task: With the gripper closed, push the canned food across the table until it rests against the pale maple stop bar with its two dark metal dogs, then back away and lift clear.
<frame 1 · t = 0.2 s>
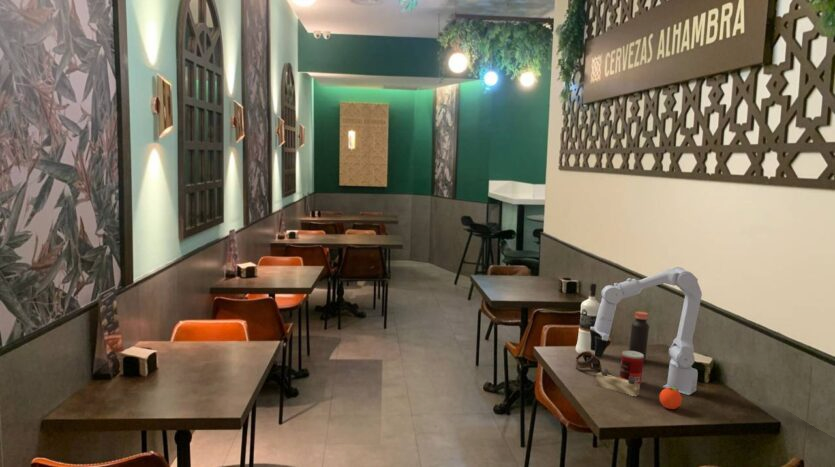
hand: (595, 353, 228), 11 cm above the table, tool pointing down, fingers open, 7 cm apart
bottle: (636, 360, 259), on the table
vodka: (586, 353, 264), on the table
maple stop bar: (616, 389, 222), on the table
canned food: (629, 383, 231), on the table
clementine: (670, 408, 208), on the table
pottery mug: (587, 369, 243), on the table
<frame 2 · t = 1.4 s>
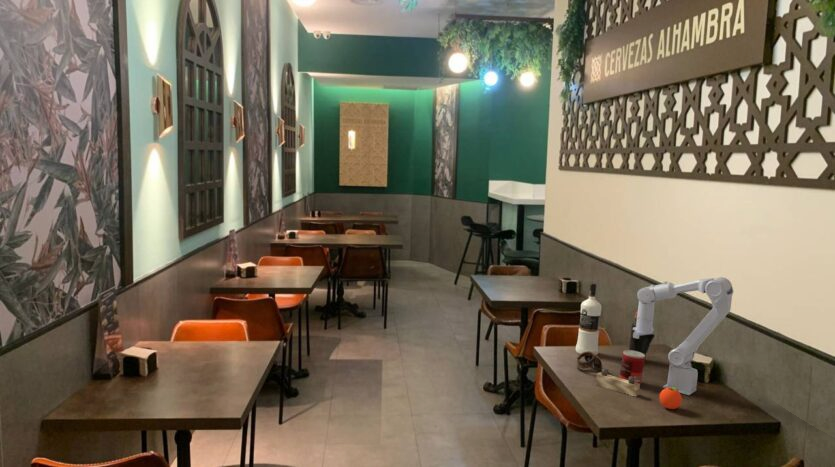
hand: (641, 353, 236), 9 cm above the table, tool pointing down, fingers open, 4 cm apart
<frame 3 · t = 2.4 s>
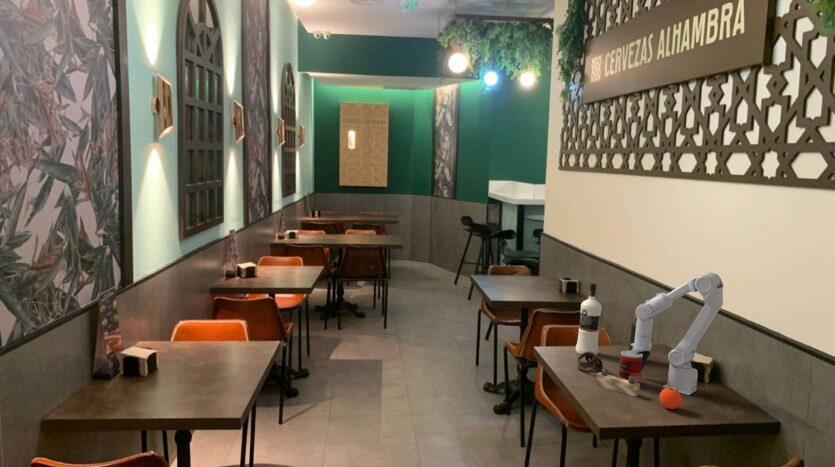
hand: (639, 369, 236), 3 cm above the table, tool pointing down, fingers closed
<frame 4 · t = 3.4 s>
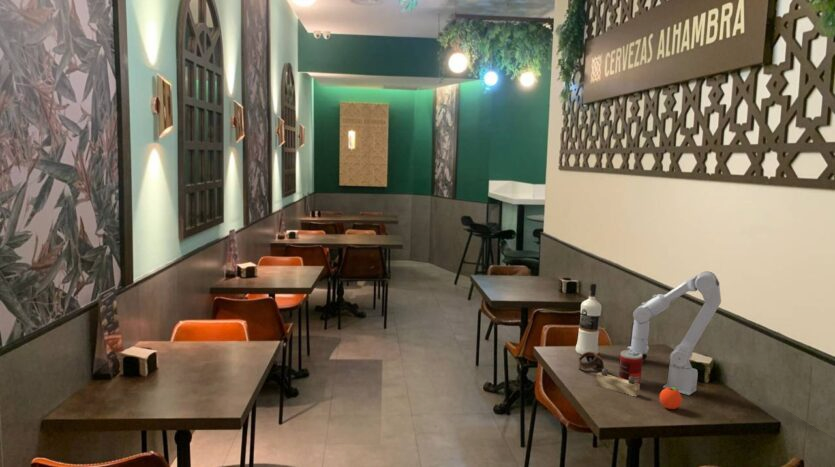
hand: (636, 372, 234), 2 cm above the table, tool pointing down, fingers closed
canned food: (629, 382, 231), on the table, touching gripper
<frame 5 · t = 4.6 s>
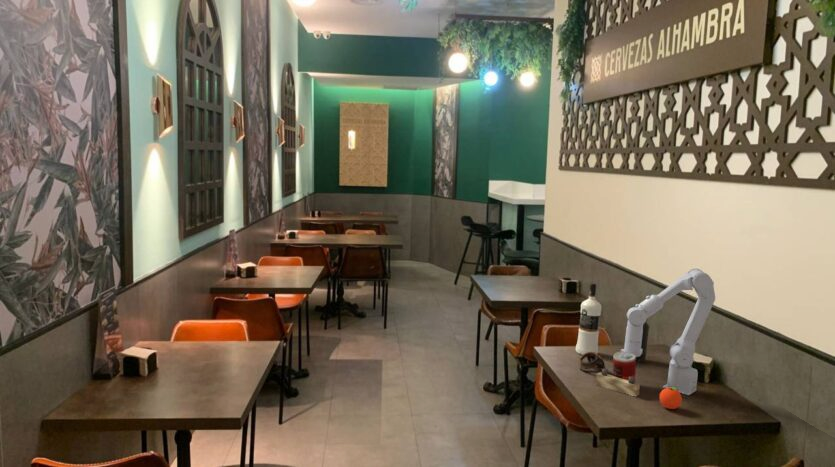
hand: (629, 376, 230), 3 cm above the table, tool pointing down, fingers closed, pressing on canned food
canned food: (623, 384, 227), on the table, touching gripper
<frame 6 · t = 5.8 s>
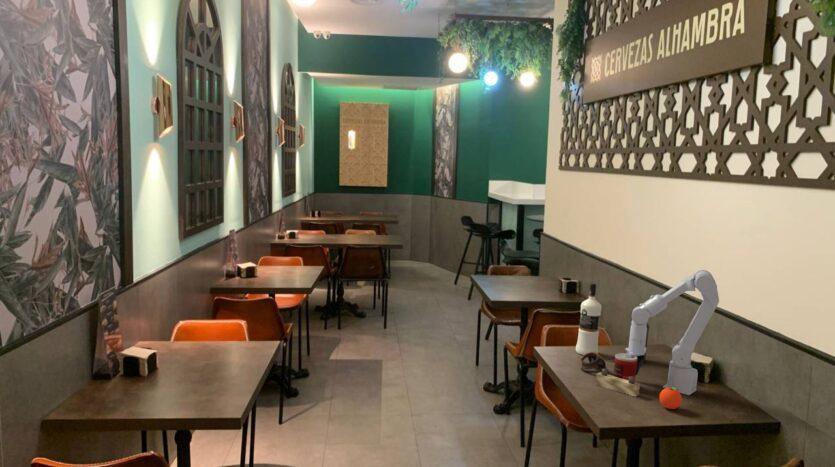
hand: (633, 374, 233), 2 cm above the table, tool pointing down, fingers closed
canned food: (623, 386, 227), on the table
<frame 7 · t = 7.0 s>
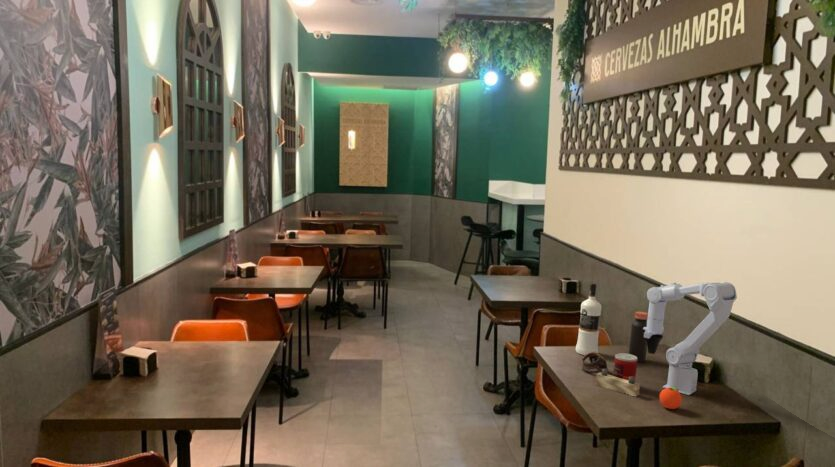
hand: (651, 353, 237), 9 cm above the table, tool pointing down, fingers closed
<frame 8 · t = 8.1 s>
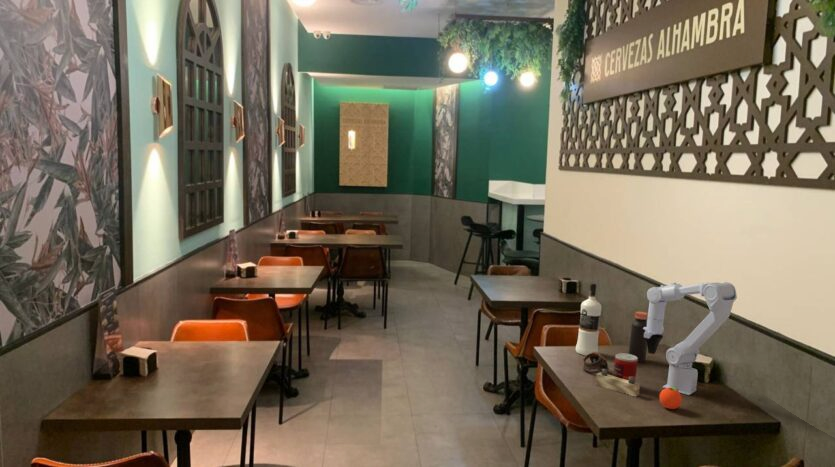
hand: (651, 353, 237), 9 cm above the table, tool pointing down, fingers closed
at the end: canned food 0.9 cm from the target spot, on the table; canned food tilted 0°; canned food moved 5.3 cm from its start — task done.
